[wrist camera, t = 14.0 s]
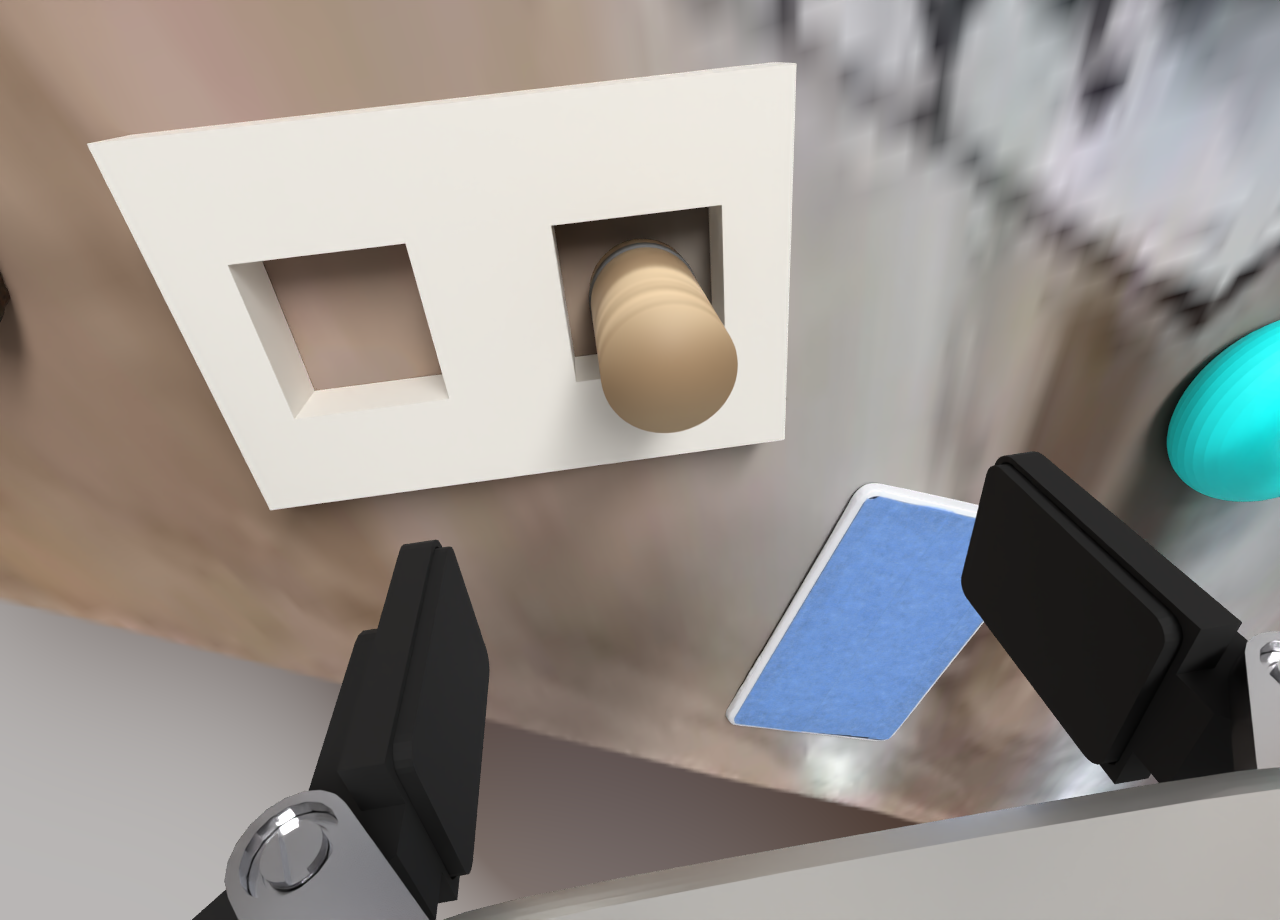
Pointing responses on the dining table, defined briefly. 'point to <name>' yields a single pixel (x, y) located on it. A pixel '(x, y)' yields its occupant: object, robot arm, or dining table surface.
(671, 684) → the dining table surface
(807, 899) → the robot arm
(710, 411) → the oak peg
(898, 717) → the tablet computer
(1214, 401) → the donuts
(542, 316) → the hole board
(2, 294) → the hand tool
